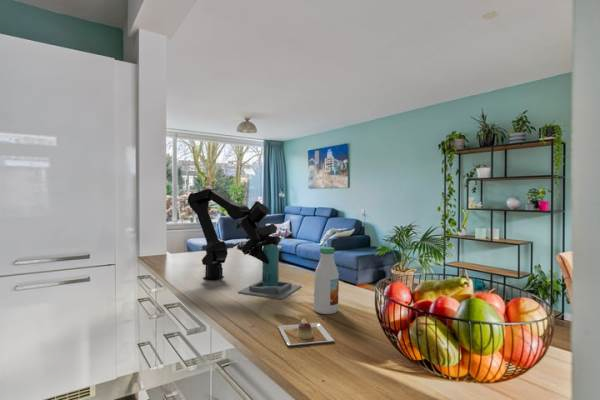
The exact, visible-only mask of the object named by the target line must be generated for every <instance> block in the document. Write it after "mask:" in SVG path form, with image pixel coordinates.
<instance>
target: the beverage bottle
mask: <svg viewBox="0 0 600 400" xmlns="http://www.w3.org/2000/svg"><path fill="white" fill-rule="evenodd" d="M275 236H276V235H269V236H267V237H266V240H265V242H276V237H275ZM262 250H263V252H264V253H265V255H266V257H267V258H268V260H269V264H266V263H264V262H262V274H261V275H262V276H261V280H262V284H263V285H264V286H277V285H278V283H279V281H280V280H279V275H280V274H279V273H280V272H279V270H280V268H279V261H278V260H279V255H280V252H279V250H280V247H278V246H276V245H265V246H264V247H262Z"/></svg>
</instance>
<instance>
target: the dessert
mask: <svg viewBox="0 0 600 400" xmlns="http://www.w3.org/2000/svg"><path fill="white" fill-rule="evenodd" d="M277 328H278V330H279V333H281V335H282V337H283V339H284V341H285V343H286V345H287V346H290V347H292V346H303V345H312V344H313V345H314V344H325V343H331V342H335V339H334V338H333V337H332V335H331V334H330V333H329V332H328V331H327V330H326V329H325V328H324V326H323V325H322V324H321V322H312V323H311V322H309V321H308V318H307V320H306V318H303V319H301V322H300V323H299V324H297V323H296V324H287V325H285V324H283V325H277ZM313 328H317V330H318V331H319V332H320V333H321V334H322V336H323V338H325V339H326V340H322V341H321V340H320V341H311V342H310V341H309V342H301V343H292V342H291V341H290V339H289V337H288V335H287V334H286V332H285V331H284V330H293V329H295V330H296V329H297V332H296V335H295V336H296V337H297V338H299V339H303V340H309V339H312V338H314V332H313Z"/></svg>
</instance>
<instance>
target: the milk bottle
mask: <svg viewBox="0 0 600 400" xmlns="http://www.w3.org/2000/svg"><path fill="white" fill-rule="evenodd" d="M335 252H336V251H335V248H334V247H330V246H322V247H320V248H319V253H320V259H319V261H318V264H317V266H316V268H315V271H314V284H313V285H314V286H313V311H314V312H315V313H318V314H323V315H332V314H336V313H337V312H338V310H339V291H340V289H339V288H340V287H339V286H340V285H339V282H340V279H339V270H338V267H337V264H336V262H335V258H334V256H335Z"/></svg>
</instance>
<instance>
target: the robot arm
mask: <svg viewBox="0 0 600 400" xmlns="http://www.w3.org/2000/svg"><path fill="white" fill-rule="evenodd" d="M210 202H213V203H215V204H216V205H218V206H219V207H221V208H223V210H224V211H226V213H227V216H229V217H230V218H231V219H232V220H234V221H237V220H238V221H239V220H240V222H237V224H236V230H242V231H243V232H244V233H245V234H246V237H245V239H246V240H247V241H246V242H245V243H244V244H243V246H242V247H241V252H242V254H243V256H246V255H248V256H251V257H253V258H255V259H257V260H258V261H261V263H263V262H264V263H266V264H269V260H268V258H267V257H266V255H265V253H264V252H263V247H264V246H265V245H276V246H277V247H278V246H279V244H280V242H281V241H282V239H281V237H280V236H279V235H274V236H275V237H276V242H265V240H266V237H267V236H272V235H273V234H276V233H277V231H278V227H277V226H276V224H275V223H270V224H268V225H266V226H263V227H259V225H258V224H257V223H259V224H260V223H261V222H262V221H263V220H264V219H265V218H266V217H267V216H268V215H269V214H270V209H269V207H267V206H266V205H265V204H264V203H261V202H260V201H254V203H253V205H251V207H250V208H249V206H247V205H245V204H242V203H239V202H235V201H233V200H232V199H230V198H228V197H227V196H226V195H224V194H222V193H221V192H219V191H218V190H217V189H216V188H208V187H207V188H204V189H203V190H200V191H199V190H198V191H196V192H191V193H190V194H188V197H187V203H188V205H189V207H190V209H191V210H192V211H193V212H194V213H195V214H196V216H197V218H198V221H199V224H200V227H201V230H202V232H203V236H204V239H205V241H206V242H205V243H206V247H205V252H206V254H205V255H204V256H203V258H202V259H201V263H202V265H203V266H205V271H204V272H205V276H203V277H202V279H203V280H212V281H217V280H221V279H222V278H225V277H224V276H225V275H223V264H224V263H225V262H226V259H227V257H228V247H227V246H226V245H227V244H226V242H225V241H224V240H222V241H221V240H219V237H218V235H217V232H216V229H215V227H214V224H213V221H212V218H211V215H210V213H209V205H210V204H209V203H210ZM281 260H282V258H281V255H280V254H279V260H278V262H280V261H281Z"/></svg>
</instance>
